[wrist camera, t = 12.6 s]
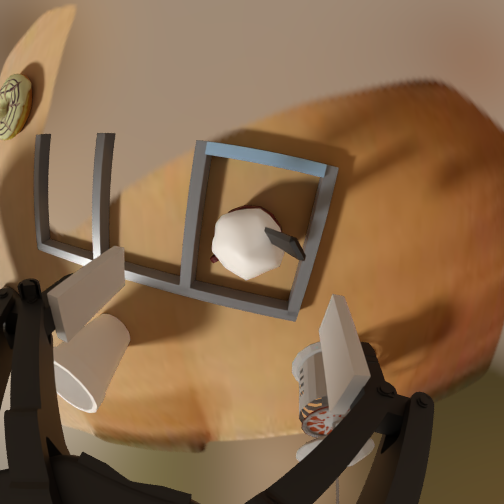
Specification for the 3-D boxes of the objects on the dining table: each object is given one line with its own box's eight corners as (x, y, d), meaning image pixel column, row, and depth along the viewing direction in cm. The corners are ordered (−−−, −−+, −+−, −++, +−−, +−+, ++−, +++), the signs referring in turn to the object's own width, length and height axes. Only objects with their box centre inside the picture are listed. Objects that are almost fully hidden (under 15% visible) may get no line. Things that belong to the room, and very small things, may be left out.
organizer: (46, 244, 33) (35, 250, 31) (46, 134, 27) (33, 135, 24) (295, 311, 31) (295, 324, 29) (335, 166, 25) (339, 168, 22)
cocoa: (221, 259, 30) (180, 327, 19) (208, 204, 28) (153, 249, 17) (308, 251, 28) (311, 322, 17) (301, 191, 26) (303, 232, 15)
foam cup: (94, 292, 34) (38, 344, 22) (146, 329, 35) (100, 394, 23) (86, 331, 38) (41, 380, 26) (130, 363, 39) (93, 420, 27)
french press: (343, 326, 31) (376, 535, 8) (377, 376, 33) (409, 534, 10) (277, 360, 34) (254, 548, 11) (319, 403, 37) (320, 553, 13)
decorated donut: (44, 72, 23) (26, 69, 20) (29, 140, 27) (11, 142, 24) (12, 77, 24) (-3, 77, 20) (1, 137, 28) (-15, 139, 24)
